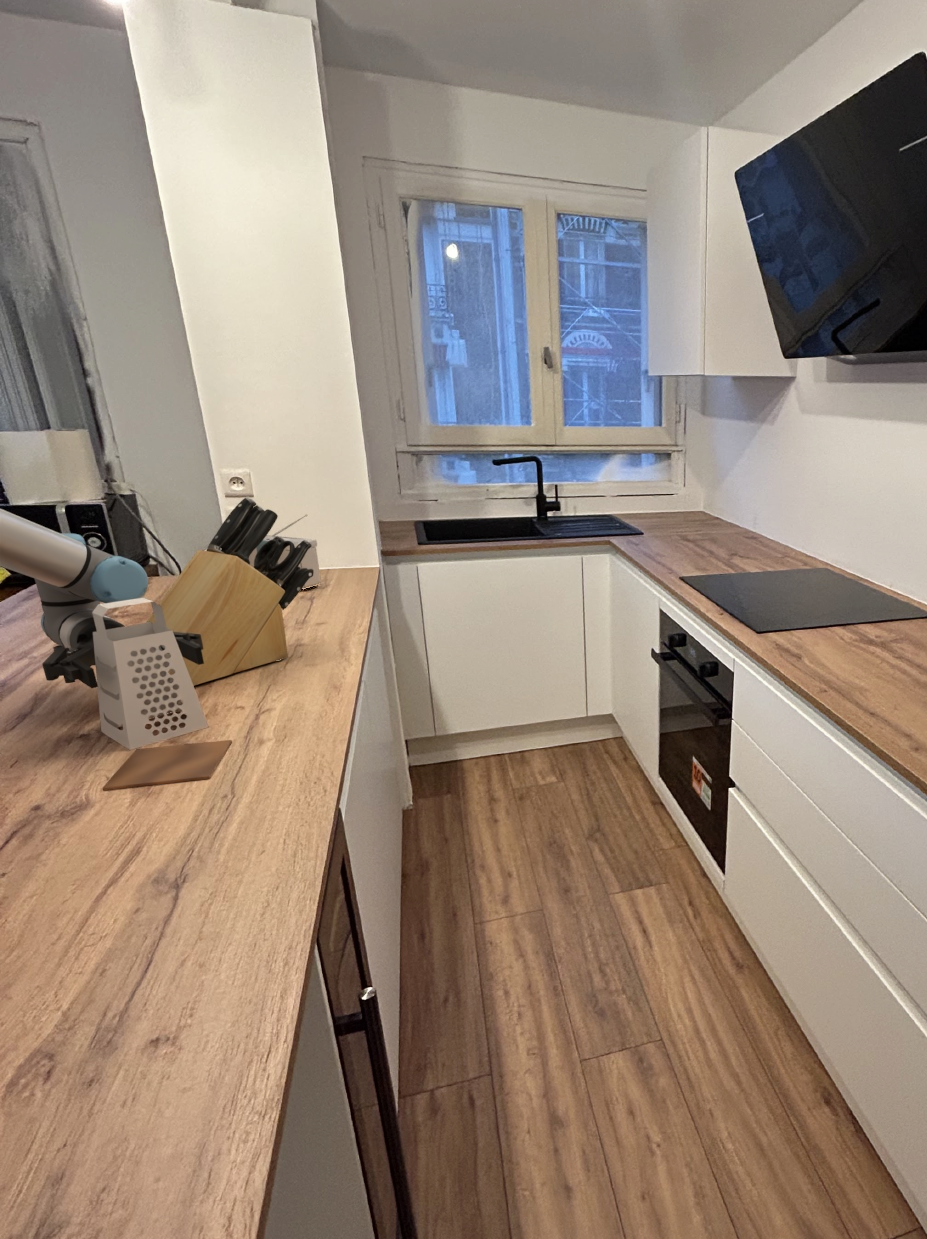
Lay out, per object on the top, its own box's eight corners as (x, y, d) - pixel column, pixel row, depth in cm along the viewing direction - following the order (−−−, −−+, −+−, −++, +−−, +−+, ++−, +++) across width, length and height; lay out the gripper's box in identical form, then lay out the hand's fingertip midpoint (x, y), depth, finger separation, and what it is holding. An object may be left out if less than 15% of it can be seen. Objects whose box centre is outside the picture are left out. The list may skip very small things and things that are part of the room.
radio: (243, 585, 201) (230, 512, 195) (268, 579, 209) (256, 509, 202) (302, 592, 195) (291, 517, 188) (326, 586, 203) (316, 514, 196)
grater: (209, 726, 113) (183, 602, 106) (130, 750, 105) (96, 616, 98) (178, 710, 118) (152, 591, 112) (101, 731, 110) (67, 603, 104)
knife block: (331, 646, 152) (309, 496, 142) (153, 701, 122) (108, 515, 111) (294, 639, 156) (270, 492, 146) (113, 690, 126) (67, 509, 116)
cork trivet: (102, 790, 94) (102, 787, 94) (136, 751, 104) (136, 748, 104) (209, 778, 97) (209, 776, 97) (232, 742, 108) (231, 739, 108)
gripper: (188, 643, 129) (243, 669, 117) (3, 680, 110) (47, 715, 98) (179, 602, 126) (235, 624, 114) (-11, 632, 107) (32, 663, 95)
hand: (148, 666), depth 106 cm, fingers open, 13 cm apart
